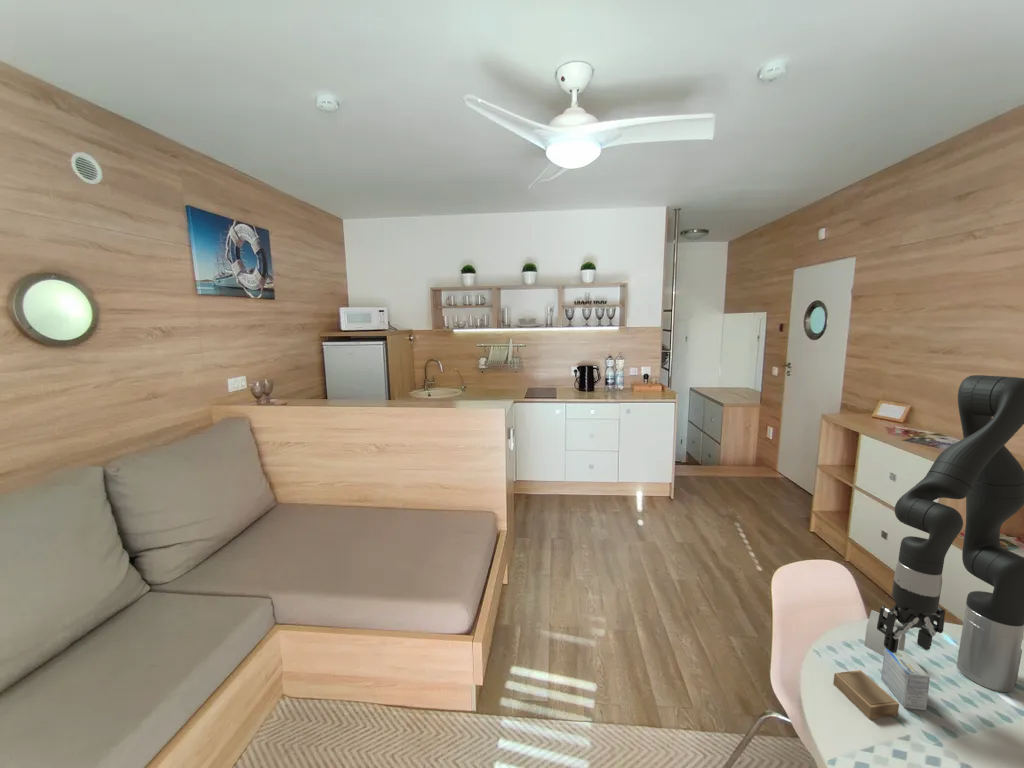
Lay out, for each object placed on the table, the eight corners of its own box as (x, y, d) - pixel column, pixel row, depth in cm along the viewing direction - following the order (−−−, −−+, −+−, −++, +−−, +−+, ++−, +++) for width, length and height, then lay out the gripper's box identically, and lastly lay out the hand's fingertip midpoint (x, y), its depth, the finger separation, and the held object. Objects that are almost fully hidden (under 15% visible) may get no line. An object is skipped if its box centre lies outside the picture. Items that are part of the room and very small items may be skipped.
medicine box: (926, 711, 92) (931, 677, 90) (903, 708, 92) (908, 674, 91) (901, 682, 99) (905, 650, 98) (879, 679, 100) (883, 647, 99)
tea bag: (896, 663, 105) (901, 628, 103) (864, 645, 110) (868, 612, 109) (902, 658, 106) (907, 623, 105) (870, 640, 112) (874, 607, 111)
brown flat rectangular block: (859, 681, 100) (860, 669, 99) (897, 715, 91) (899, 703, 90) (833, 684, 99) (834, 672, 98) (869, 719, 90) (870, 706, 89)
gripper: (926, 572, 96) (916, 634, 99) (872, 576, 95) (863, 638, 97) (964, 593, 89) (952, 659, 91) (906, 597, 88) (895, 664, 90)
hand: (906, 648), depth 94 cm, fingers open, 8 cm apart
